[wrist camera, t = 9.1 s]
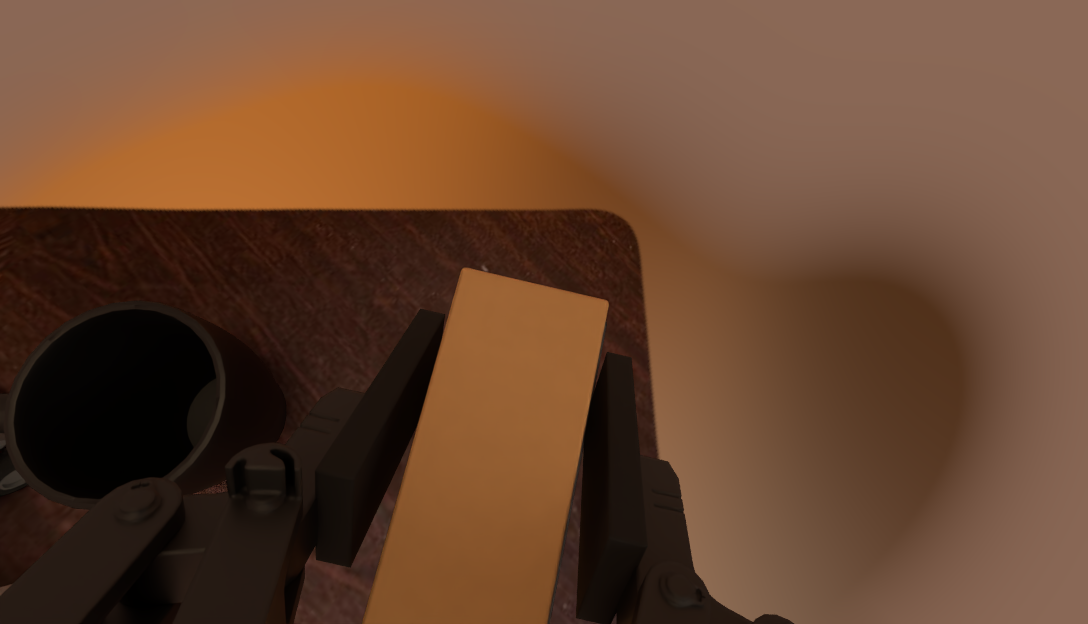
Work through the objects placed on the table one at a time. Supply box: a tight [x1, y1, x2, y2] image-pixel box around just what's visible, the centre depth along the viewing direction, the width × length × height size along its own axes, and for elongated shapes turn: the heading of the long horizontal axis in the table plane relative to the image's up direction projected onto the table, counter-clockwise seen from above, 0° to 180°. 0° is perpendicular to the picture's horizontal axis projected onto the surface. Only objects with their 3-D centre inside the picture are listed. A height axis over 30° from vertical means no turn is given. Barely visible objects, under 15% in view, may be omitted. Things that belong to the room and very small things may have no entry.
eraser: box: [362, 268, 609, 624], centre depth 14 cm, size 5×12×8 cm, turn 168°
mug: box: [0, 301, 286, 510], centre depth 25 cm, size 8×12×10 cm
